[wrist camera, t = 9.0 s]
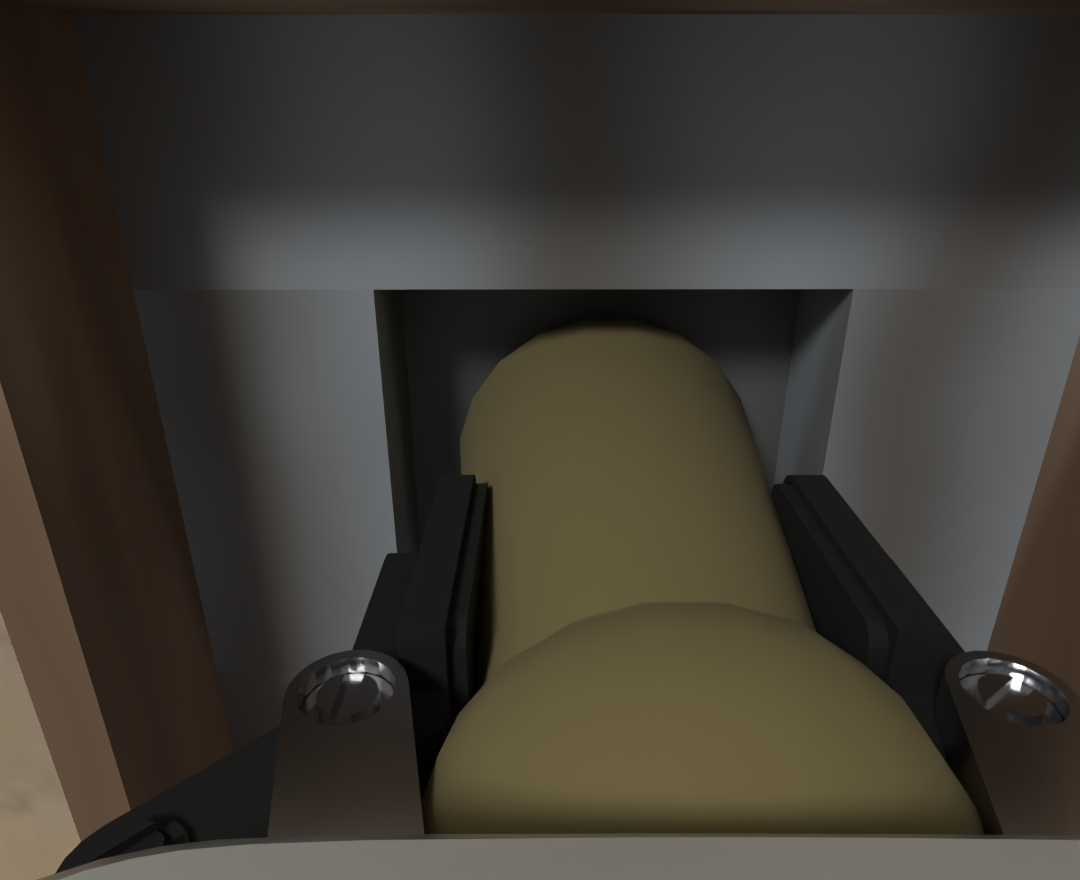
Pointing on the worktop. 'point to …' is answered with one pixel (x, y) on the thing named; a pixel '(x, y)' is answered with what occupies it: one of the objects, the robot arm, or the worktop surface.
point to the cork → (657, 622)
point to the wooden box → (500, 307)
